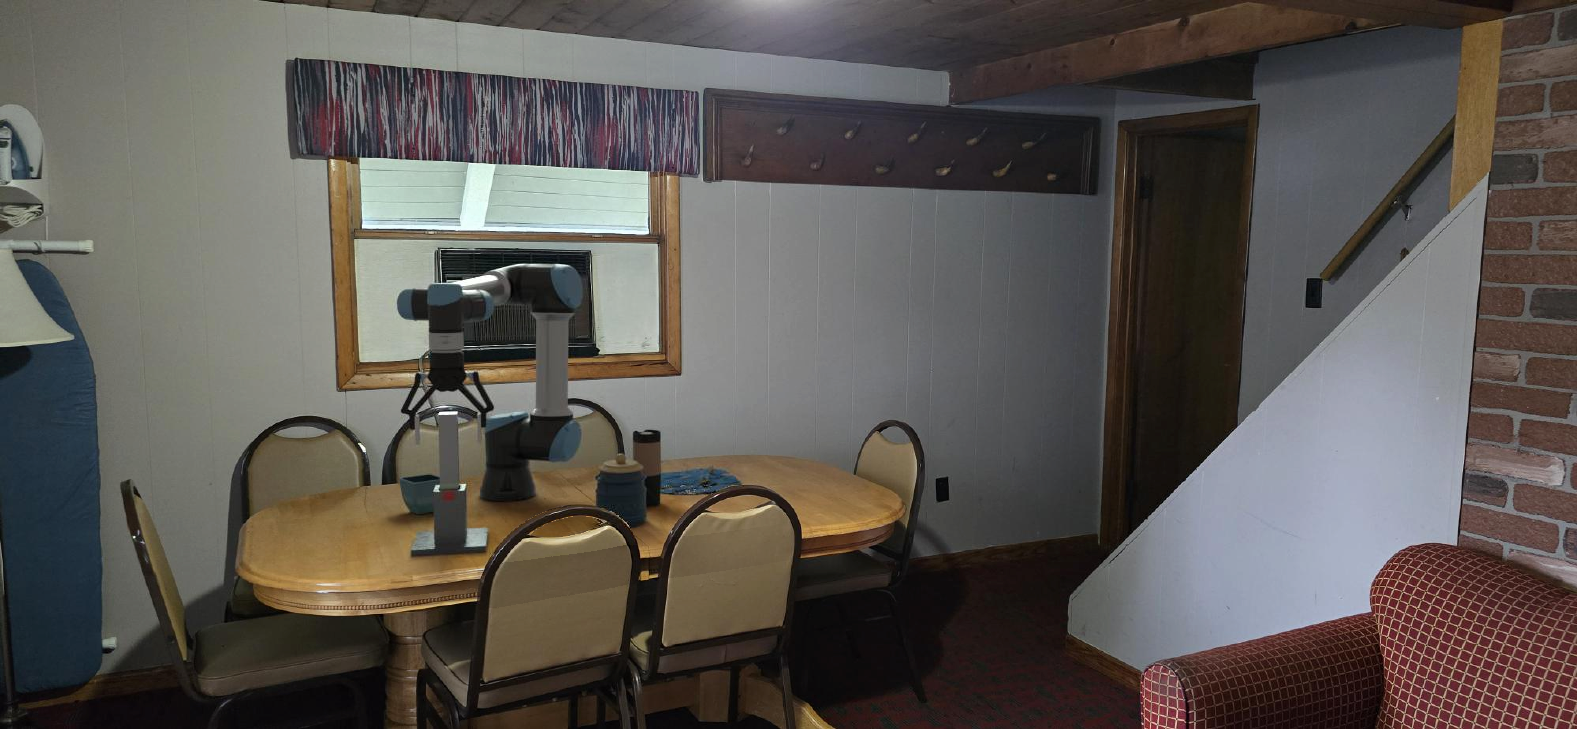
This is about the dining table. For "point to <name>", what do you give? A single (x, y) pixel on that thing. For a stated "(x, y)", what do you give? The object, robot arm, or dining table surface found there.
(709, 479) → the ocean terrain model
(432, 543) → the jack stand base
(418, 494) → the flower pot
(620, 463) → the canister
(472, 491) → the dining table surface
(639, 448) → the travel mug
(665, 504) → the dining table surface
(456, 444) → the stand post
